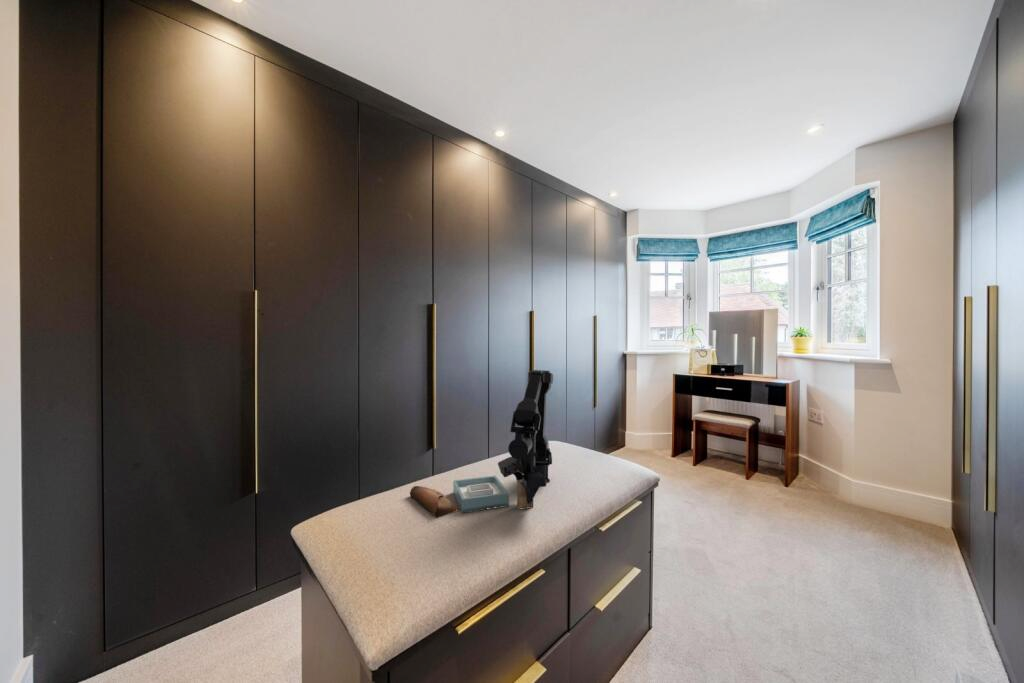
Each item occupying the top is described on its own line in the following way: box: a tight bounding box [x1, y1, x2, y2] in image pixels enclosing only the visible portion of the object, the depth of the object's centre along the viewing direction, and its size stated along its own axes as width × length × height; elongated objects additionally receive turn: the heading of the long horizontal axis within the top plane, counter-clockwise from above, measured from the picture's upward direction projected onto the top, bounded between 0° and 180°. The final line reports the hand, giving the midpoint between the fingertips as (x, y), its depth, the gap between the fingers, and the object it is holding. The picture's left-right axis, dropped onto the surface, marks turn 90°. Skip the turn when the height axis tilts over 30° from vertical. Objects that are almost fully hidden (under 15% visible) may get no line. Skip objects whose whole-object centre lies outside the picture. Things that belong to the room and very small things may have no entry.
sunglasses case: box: [409, 485, 459, 519], centre depth 117 cm, size 18×7×7 cm
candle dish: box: [452, 475, 510, 514], centre depth 121 cm, size 15×15×4 cm
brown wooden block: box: [516, 480, 534, 509], centre depth 116 cm, size 4×2×8 cm, turn 109°
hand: (525, 498), depth 116 cm, fingers open, 6 cm apart
